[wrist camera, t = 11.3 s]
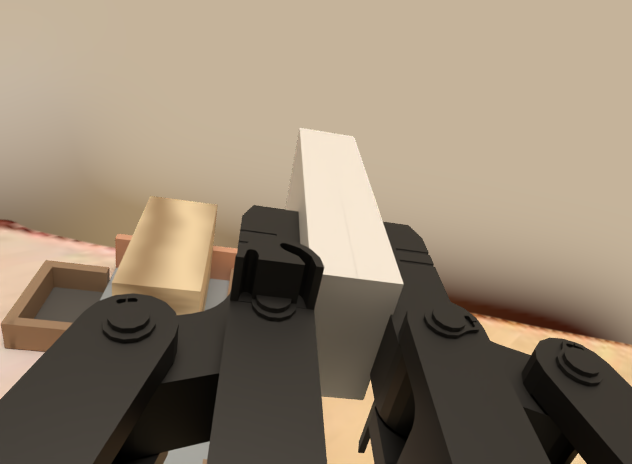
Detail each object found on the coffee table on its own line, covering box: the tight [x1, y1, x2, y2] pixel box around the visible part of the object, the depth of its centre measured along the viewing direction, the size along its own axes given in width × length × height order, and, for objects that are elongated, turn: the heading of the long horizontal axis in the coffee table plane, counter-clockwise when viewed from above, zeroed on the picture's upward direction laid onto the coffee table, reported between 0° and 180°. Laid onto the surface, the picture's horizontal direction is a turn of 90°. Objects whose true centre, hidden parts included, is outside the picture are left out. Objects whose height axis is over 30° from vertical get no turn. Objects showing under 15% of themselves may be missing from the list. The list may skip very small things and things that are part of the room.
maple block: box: [112, 196, 217, 315], centre depth 49 cm, size 7×15×10 cm, turn 4°
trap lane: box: [1, 234, 238, 464], centre depth 45 cm, size 28×32×5 cm
